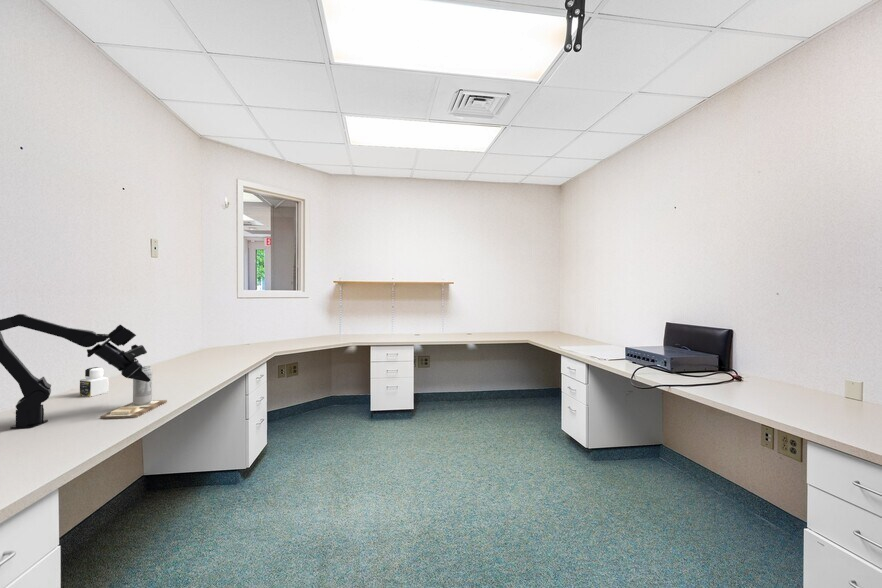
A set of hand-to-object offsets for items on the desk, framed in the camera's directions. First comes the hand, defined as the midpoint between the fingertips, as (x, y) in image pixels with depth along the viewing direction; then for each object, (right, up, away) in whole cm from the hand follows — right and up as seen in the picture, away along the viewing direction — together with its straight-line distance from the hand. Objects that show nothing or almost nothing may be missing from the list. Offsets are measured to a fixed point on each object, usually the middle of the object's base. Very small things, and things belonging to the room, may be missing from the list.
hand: (148, 378), depth 149 cm
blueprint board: (0, -11, -5) cm, 12 cm away
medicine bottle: (-37, -11, +16) cm, 42 cm away
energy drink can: (-1, -10, -1) cm, 10 cm away
